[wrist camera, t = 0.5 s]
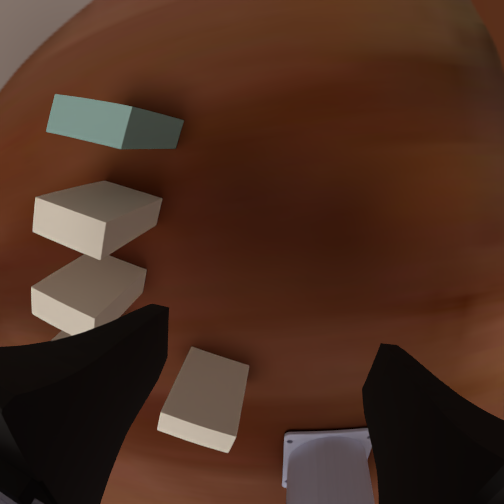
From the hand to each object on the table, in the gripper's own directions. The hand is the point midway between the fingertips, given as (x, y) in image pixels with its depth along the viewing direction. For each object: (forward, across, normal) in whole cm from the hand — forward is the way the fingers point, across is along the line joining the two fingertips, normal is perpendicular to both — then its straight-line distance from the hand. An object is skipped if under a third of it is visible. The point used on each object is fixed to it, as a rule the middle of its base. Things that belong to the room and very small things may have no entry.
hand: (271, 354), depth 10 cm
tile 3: (+10, +11, +3) cm, 15 cm away
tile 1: (+10, +9, -7) cm, 15 cm away
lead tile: (+10, +3, +9) cm, 14 cm away
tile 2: (+10, +10, -2) cm, 14 cm away
